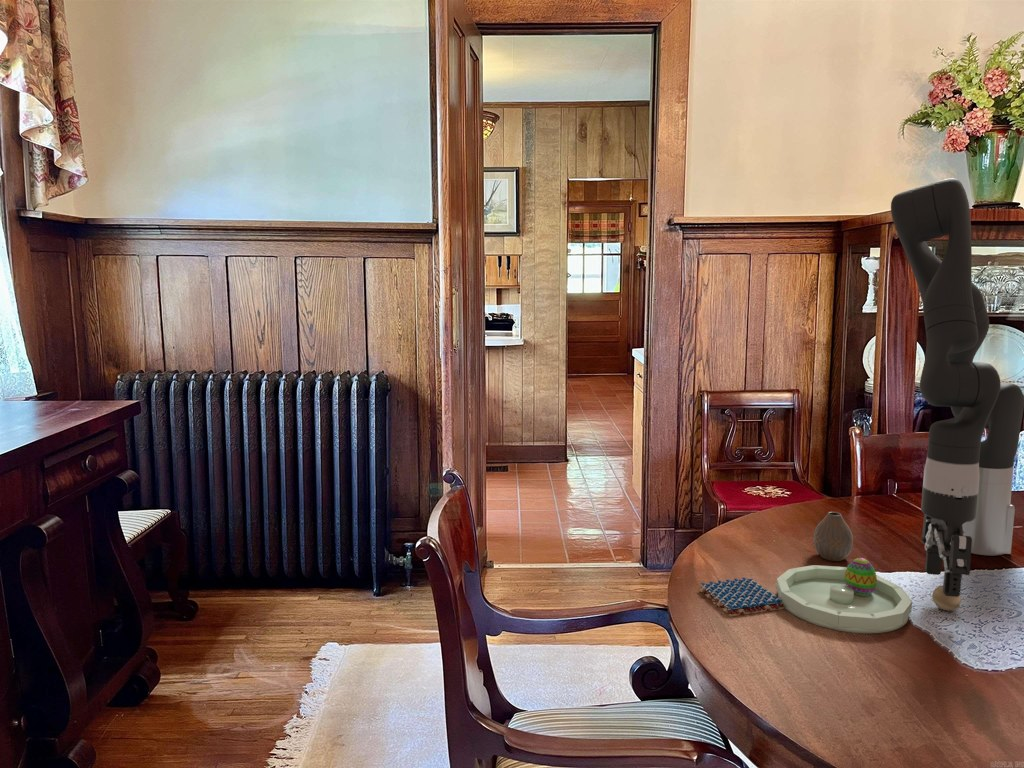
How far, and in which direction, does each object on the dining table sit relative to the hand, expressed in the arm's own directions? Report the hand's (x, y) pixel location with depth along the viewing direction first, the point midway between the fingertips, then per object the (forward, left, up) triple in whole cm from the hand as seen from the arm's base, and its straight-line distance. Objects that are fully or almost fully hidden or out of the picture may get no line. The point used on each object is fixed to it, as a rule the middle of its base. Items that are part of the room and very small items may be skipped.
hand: (941, 584), depth 116 cm
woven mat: (+31, +2, -5) cm, 32 cm away
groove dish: (+15, +1, -4) cm, 16 cm away
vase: (+12, -20, -5) cm, 24 cm away
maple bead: (-1, 0, -4) cm, 4 cm away
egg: (+11, -3, -4) cm, 12 cm away
